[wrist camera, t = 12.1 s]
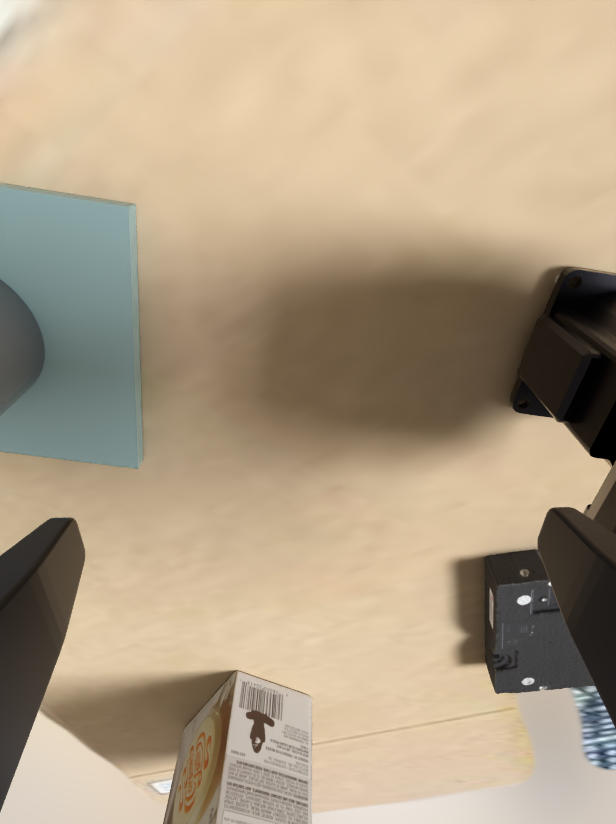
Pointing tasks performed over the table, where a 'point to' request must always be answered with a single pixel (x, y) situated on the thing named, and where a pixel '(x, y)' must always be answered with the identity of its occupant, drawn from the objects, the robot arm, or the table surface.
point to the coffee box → (245, 758)
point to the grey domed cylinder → (18, 348)
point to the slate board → (75, 325)
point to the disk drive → (527, 628)
